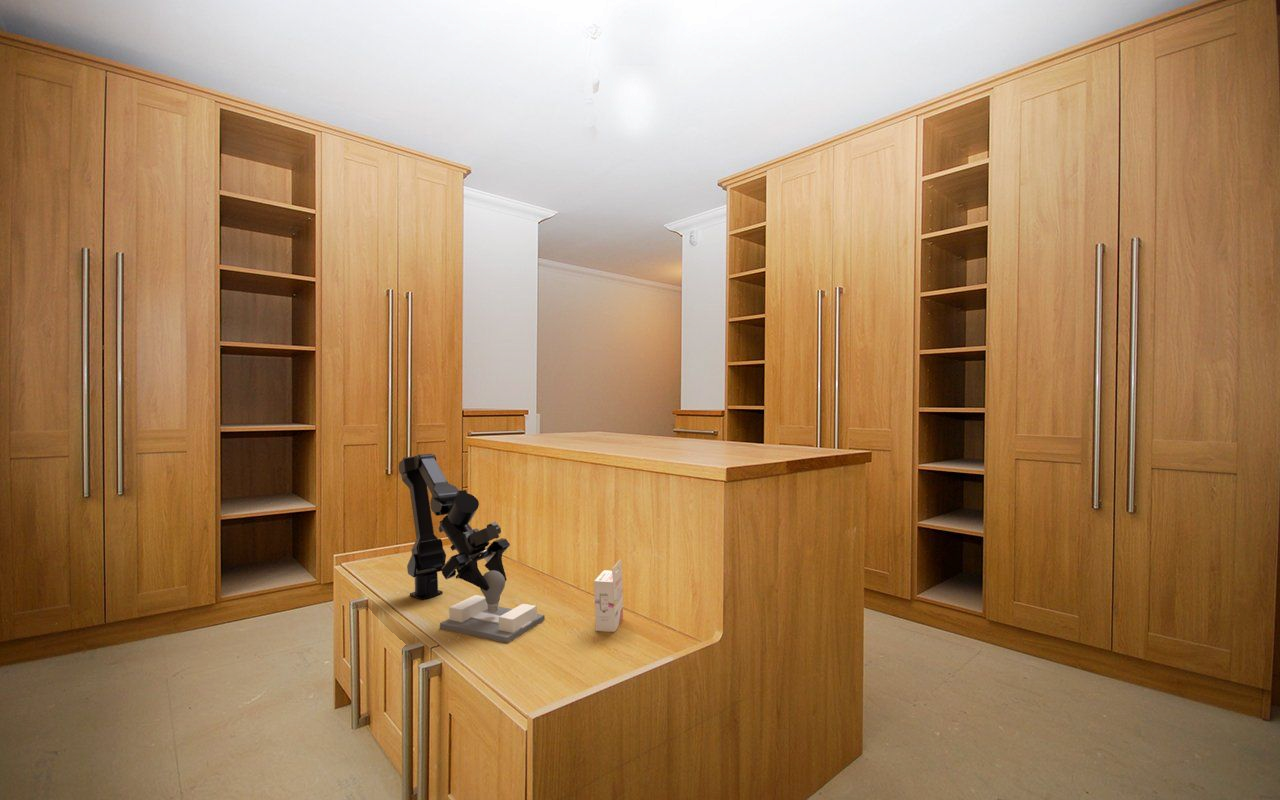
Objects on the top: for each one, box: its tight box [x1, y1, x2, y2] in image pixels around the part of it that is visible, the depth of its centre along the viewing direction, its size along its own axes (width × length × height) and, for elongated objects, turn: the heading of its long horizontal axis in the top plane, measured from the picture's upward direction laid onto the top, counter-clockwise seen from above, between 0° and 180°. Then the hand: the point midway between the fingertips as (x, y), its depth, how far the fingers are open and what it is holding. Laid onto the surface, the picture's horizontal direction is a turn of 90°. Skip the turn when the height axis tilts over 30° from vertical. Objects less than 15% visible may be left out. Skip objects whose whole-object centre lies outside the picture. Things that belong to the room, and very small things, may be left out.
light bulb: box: [479, 570, 506, 613], centre depth 133 cm, size 6×6×10 cm
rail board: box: [439, 594, 546, 644], centre depth 133 cm, size 20×14×4 cm
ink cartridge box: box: [593, 558, 624, 633], centre depth 131 cm, size 9×5×15 cm, turn 168°
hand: (496, 585), depth 132 cm, fingers closed on light bulb, 6 cm apart
